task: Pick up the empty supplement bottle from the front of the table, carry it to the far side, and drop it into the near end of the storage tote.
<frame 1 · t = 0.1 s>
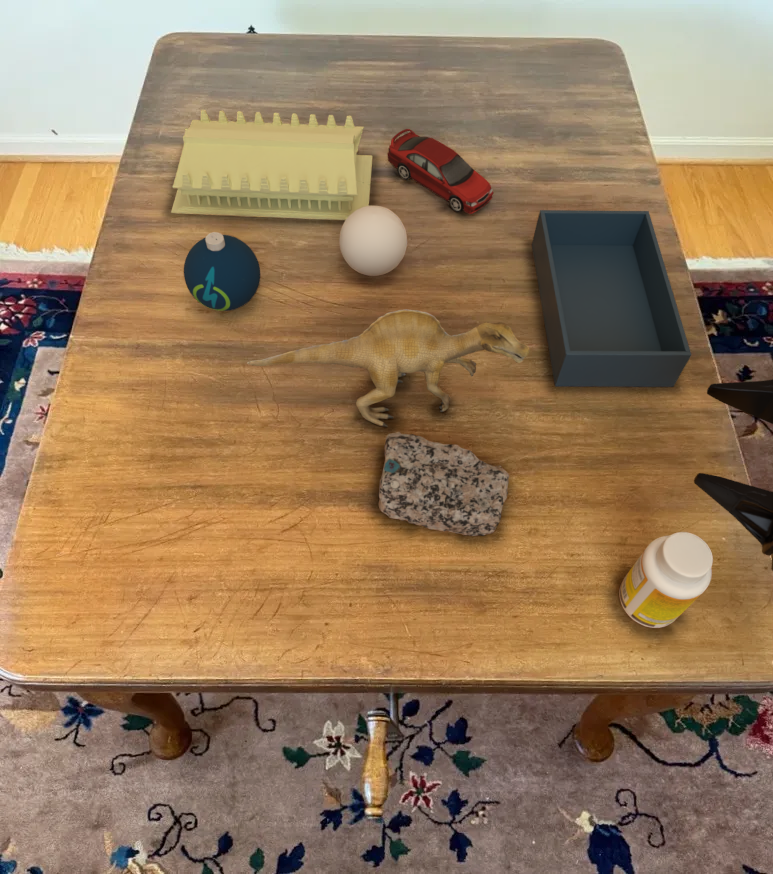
hand: (702, 431, 61), 14 cm above the table, tool horizontal, fingers open, 9 cm apart
toy car: (438, 187, 99), on the table
storage tote: (597, 311, 87), on the table
supplement bottle: (647, 600, 68), on the table
dinosaur figurine: (385, 398, 80), on the table
christmas ornament: (228, 300, 87), on the table
model building: (275, 185, 98), on the table
ball: (373, 267, 90), on the table
rock: (441, 493, 74), on the table
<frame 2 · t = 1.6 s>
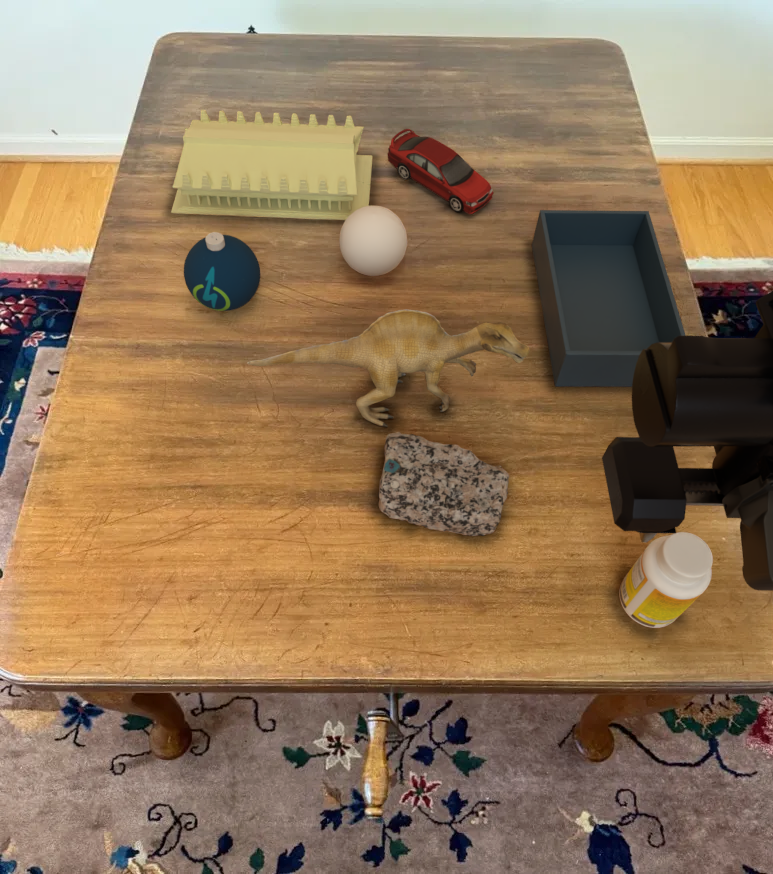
hand: (701, 537, 57), 13 cm above the table, tool pointing down, fingers open, 9 cm apart
nothing on the table moved.
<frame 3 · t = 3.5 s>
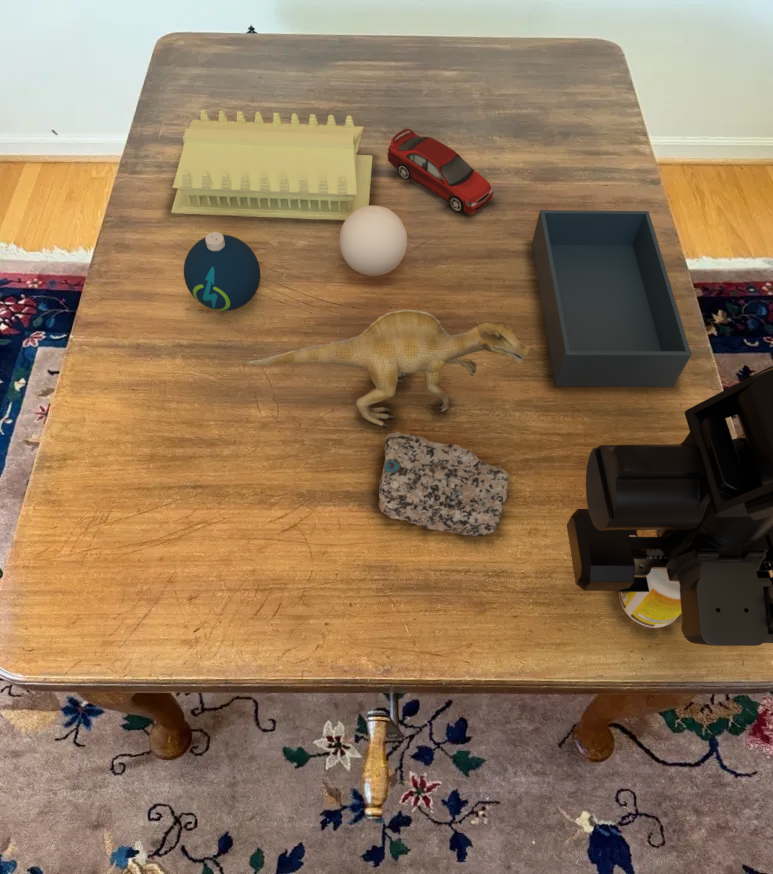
hand: (656, 588, 65), 3 cm above the table, tool pointing down, fingers closed on supplement bottle, 6 cm apart
supplement bottle: (647, 600, 68), on the table, touching gripper
everything else where it was.
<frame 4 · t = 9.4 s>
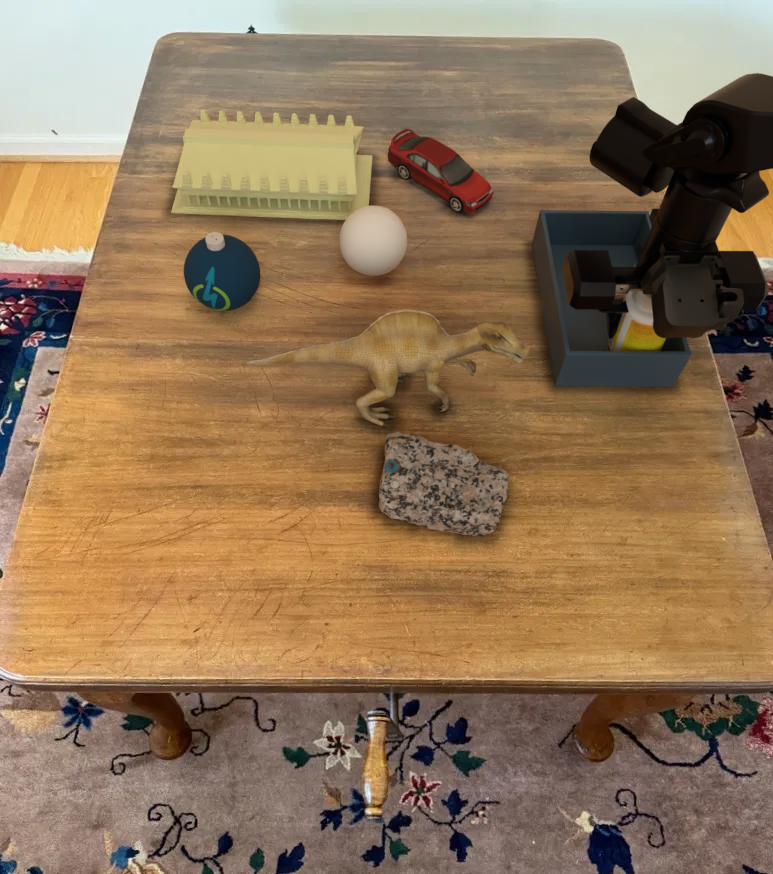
hand: (637, 335, 80), 4 cm above the table, tool pointing down, fingers closed on supplement bottle, 6 cm apart
supplement bottle: (630, 353, 82), point 1 cm above the table, touching gripper
everything else where it was.
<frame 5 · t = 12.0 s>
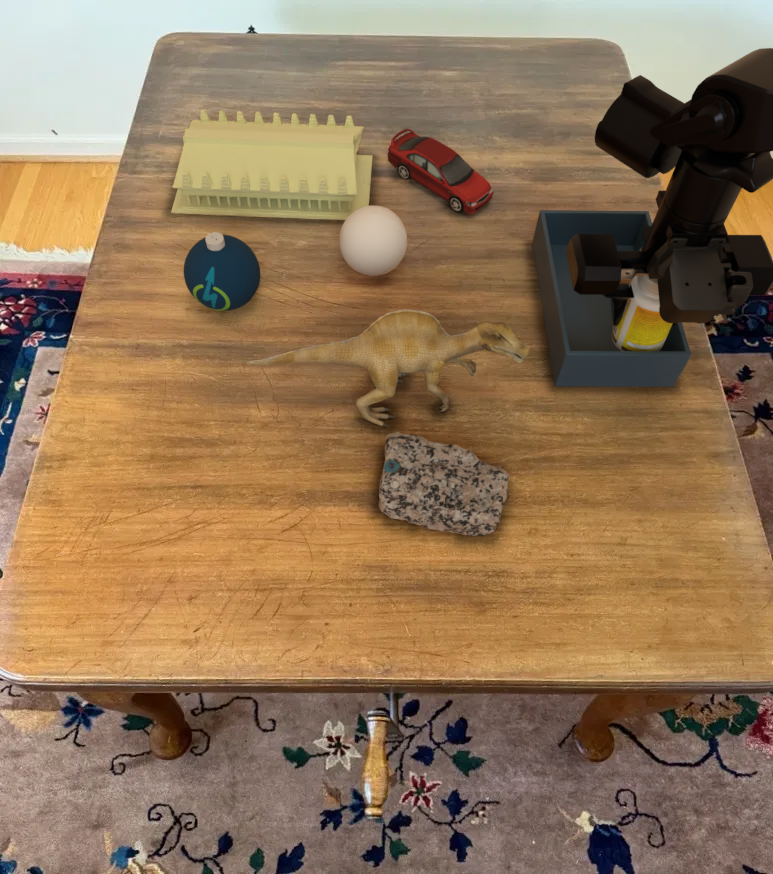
hand: (642, 322, 78), 6 cm above the table, tool pointing down, fingers closed on supplement bottle, 5 cm apart
supplement bottle: (635, 341, 81), point 3 cm above the table, touching gripper
everything else where it was.
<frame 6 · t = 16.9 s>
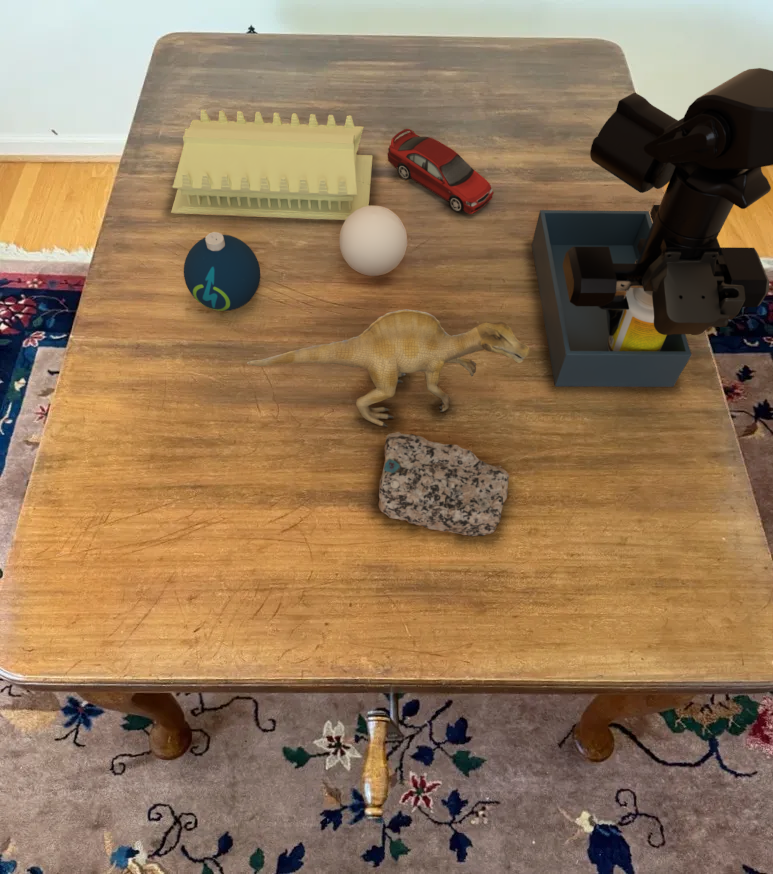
hand: (637, 332, 79), 4 cm above the table, tool pointing down, fingers closed on supplement bottle, 6 cm apart
supplement bottle: (631, 350, 82), point 1 cm above the table, touching gripper
everything else where it was.
when the fingers open (6 cm above the table, at t = 21.1 s): supplement bottle drops 3 cm, resting on storage tote.
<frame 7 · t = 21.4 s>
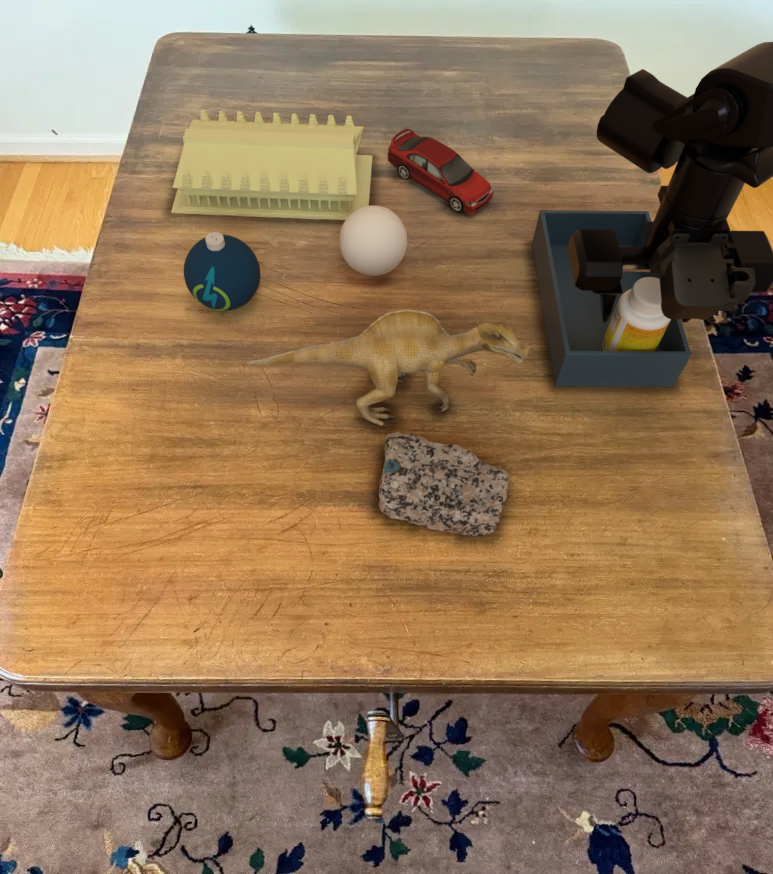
hand: (643, 319, 78), 6 cm above the table, tool pointing down, fingers open, 8 cm apart
supplement bottle: (623, 356, 83), resting on storage tote
everything else where it was.
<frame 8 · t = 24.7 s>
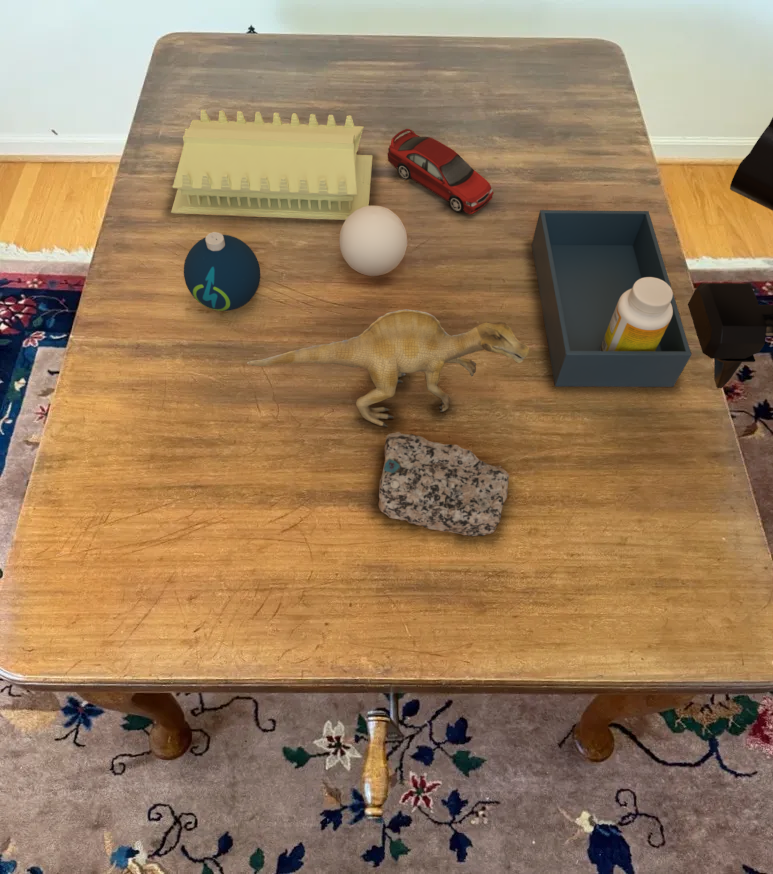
hand: (769, 384, 65), 13 cm above the table, tool pointing down, fingers open, 9 cm apart
nothing on the table moved.
at the end: supplement bottle inside the target area in the storage tote (7.3 cm from its centre), point 0.3 cm above the storage tote's base; the gripper is holding nothing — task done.
